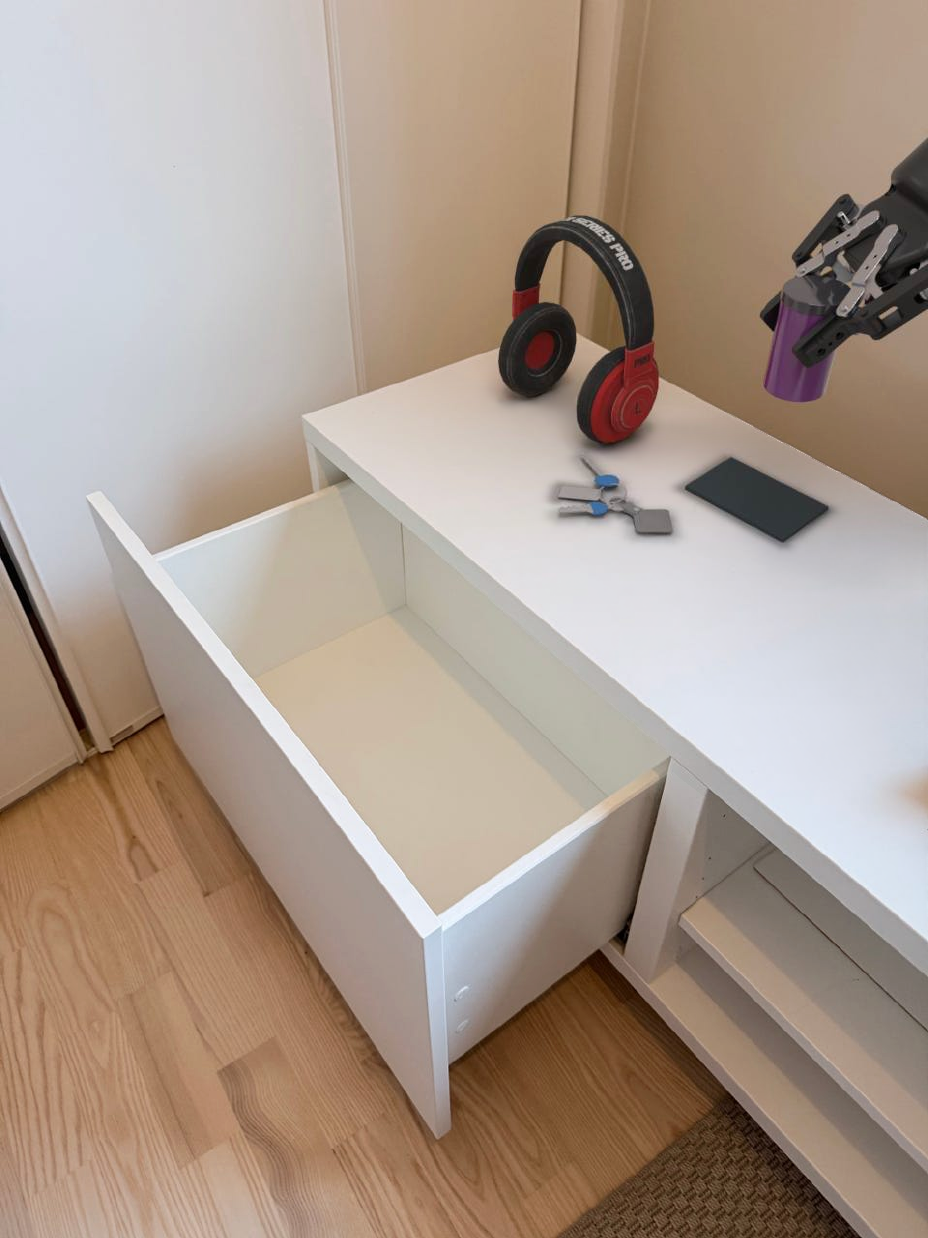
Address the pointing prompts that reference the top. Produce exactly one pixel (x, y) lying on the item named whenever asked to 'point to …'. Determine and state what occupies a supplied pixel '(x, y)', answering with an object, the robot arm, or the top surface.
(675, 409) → the top surface
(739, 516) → the mat
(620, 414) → the headphones
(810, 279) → the tin
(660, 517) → the key chain
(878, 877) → the top surface
